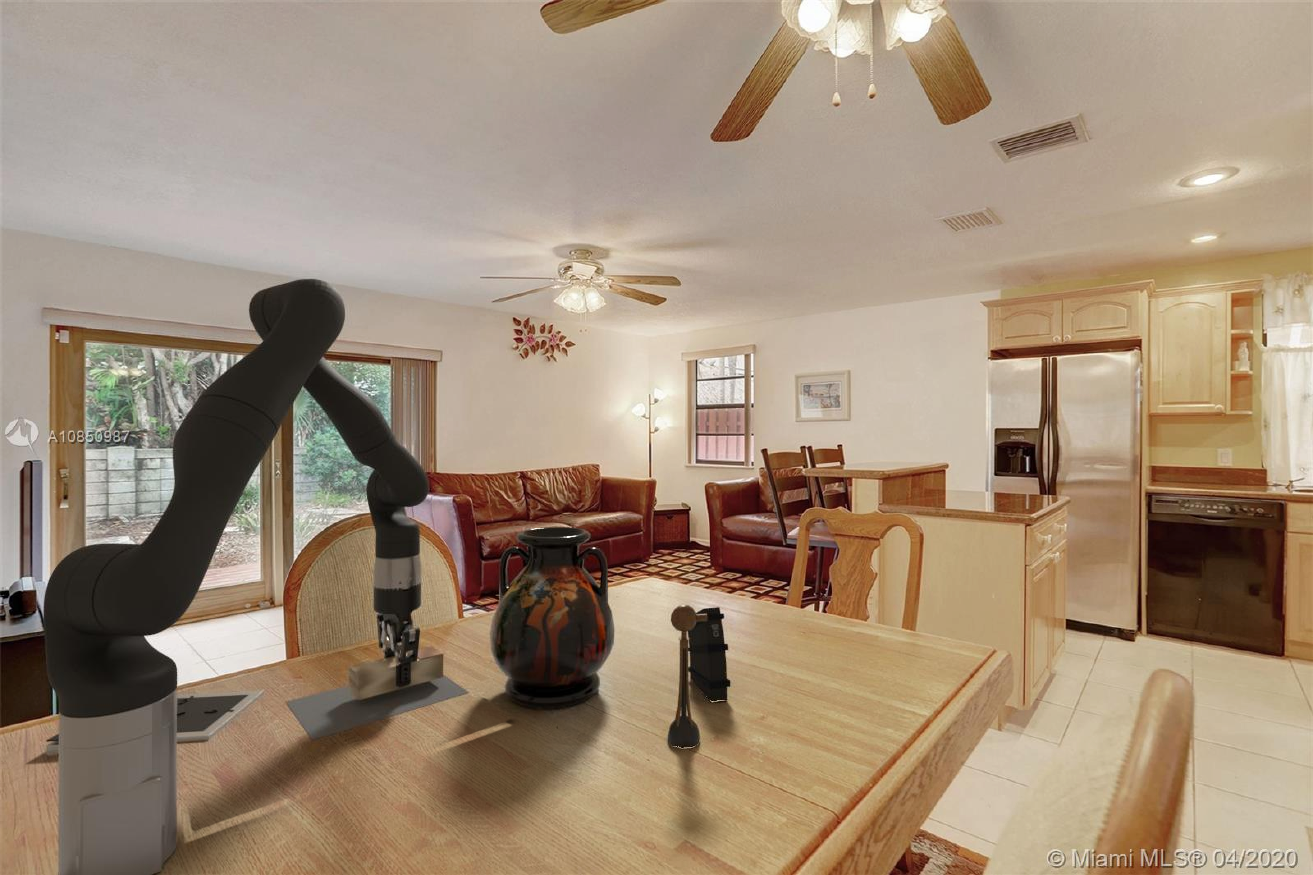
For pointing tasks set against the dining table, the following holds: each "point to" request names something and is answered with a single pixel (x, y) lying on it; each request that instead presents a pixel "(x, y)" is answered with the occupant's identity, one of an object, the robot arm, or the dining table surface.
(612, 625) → the amphora vase
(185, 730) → the picture frame
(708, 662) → the black banded case
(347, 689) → the rubber mat
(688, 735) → the wooden tabletop sculpture
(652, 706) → the dining table surface
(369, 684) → the beige wooden block
